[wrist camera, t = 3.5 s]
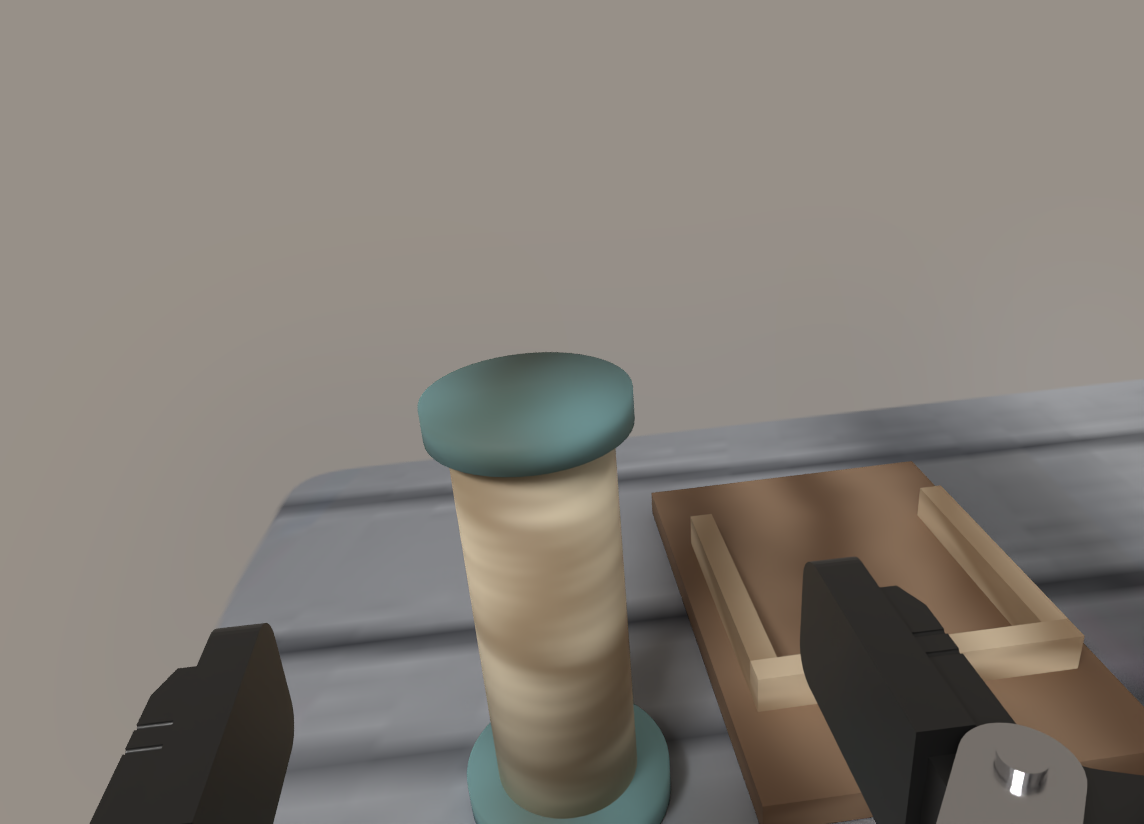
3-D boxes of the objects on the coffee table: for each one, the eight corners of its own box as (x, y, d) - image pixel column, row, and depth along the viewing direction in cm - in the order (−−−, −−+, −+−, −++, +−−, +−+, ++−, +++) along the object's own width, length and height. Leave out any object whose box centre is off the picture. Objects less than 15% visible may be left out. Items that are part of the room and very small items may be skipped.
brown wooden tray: (909, 480, 48) (914, 436, 47) (1174, 773, 30) (1191, 712, 28) (652, 512, 47) (650, 468, 46) (762, 833, 29) (763, 772, 28)
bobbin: (651, 701, 35) (629, 335, 28) (690, 857, 28) (673, 432, 22) (471, 725, 34) (408, 360, 28) (470, 889, 28) (388, 467, 21)
